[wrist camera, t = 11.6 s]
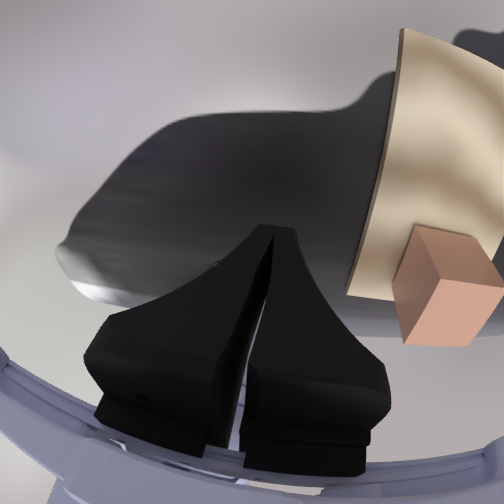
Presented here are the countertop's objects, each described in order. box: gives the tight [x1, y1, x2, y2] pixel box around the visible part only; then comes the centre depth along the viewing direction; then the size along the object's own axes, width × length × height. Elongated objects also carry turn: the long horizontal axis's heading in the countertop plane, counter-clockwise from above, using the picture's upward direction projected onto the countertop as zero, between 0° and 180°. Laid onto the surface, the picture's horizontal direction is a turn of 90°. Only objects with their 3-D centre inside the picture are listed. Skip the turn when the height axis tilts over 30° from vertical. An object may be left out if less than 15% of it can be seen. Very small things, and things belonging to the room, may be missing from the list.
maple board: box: [346, 28, 504, 301], centre depth 17 cm, size 20×12×1 cm, turn 177°
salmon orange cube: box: [391, 225, 504, 347], centre depth 17 cm, size 6×6×6 cm
